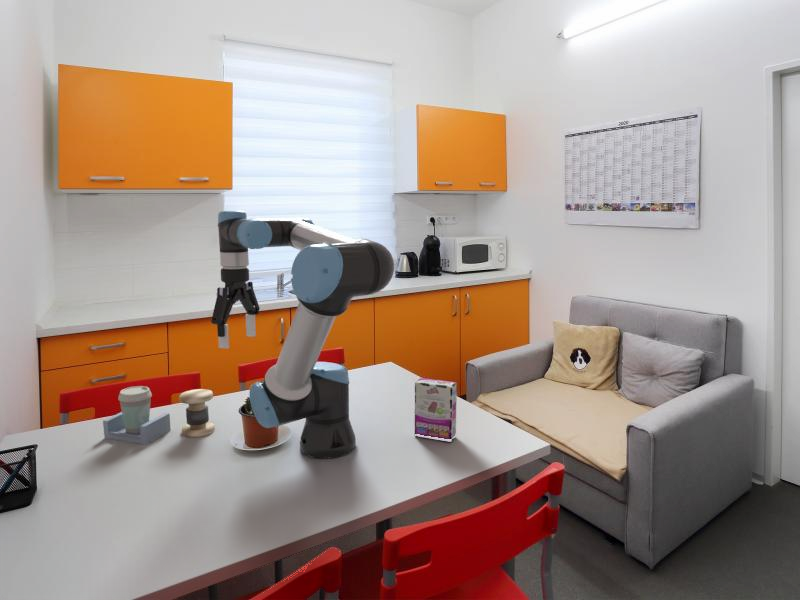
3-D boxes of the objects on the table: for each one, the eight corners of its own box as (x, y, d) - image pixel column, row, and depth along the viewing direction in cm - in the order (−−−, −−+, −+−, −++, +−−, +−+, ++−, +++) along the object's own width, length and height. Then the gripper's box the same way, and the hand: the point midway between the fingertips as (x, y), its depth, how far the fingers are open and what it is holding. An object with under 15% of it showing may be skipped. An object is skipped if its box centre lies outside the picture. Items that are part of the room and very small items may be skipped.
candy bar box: (456, 436, 156) (457, 381, 153) (451, 443, 151) (452, 387, 148) (419, 430, 160) (420, 376, 157) (413, 437, 155) (414, 382, 152)
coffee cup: (140, 438, 150) (137, 396, 148) (113, 435, 152) (110, 393, 150) (160, 426, 158) (157, 386, 156) (134, 423, 160) (131, 384, 158)
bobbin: (221, 427, 161) (219, 390, 159) (201, 439, 153) (199, 401, 151) (195, 423, 164) (192, 387, 162) (174, 435, 155) (172, 397, 153)
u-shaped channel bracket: (131, 424, 162) (129, 408, 161) (170, 430, 158) (169, 413, 158) (104, 438, 153) (102, 420, 152) (145, 444, 149) (144, 426, 148)
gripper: (247, 262, 163) (250, 331, 167) (194, 271, 139) (198, 351, 143) (269, 263, 161) (272, 333, 165) (219, 273, 137) (223, 354, 141)
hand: (238, 342), depth 154 cm, fingers open, 13 cm apart
